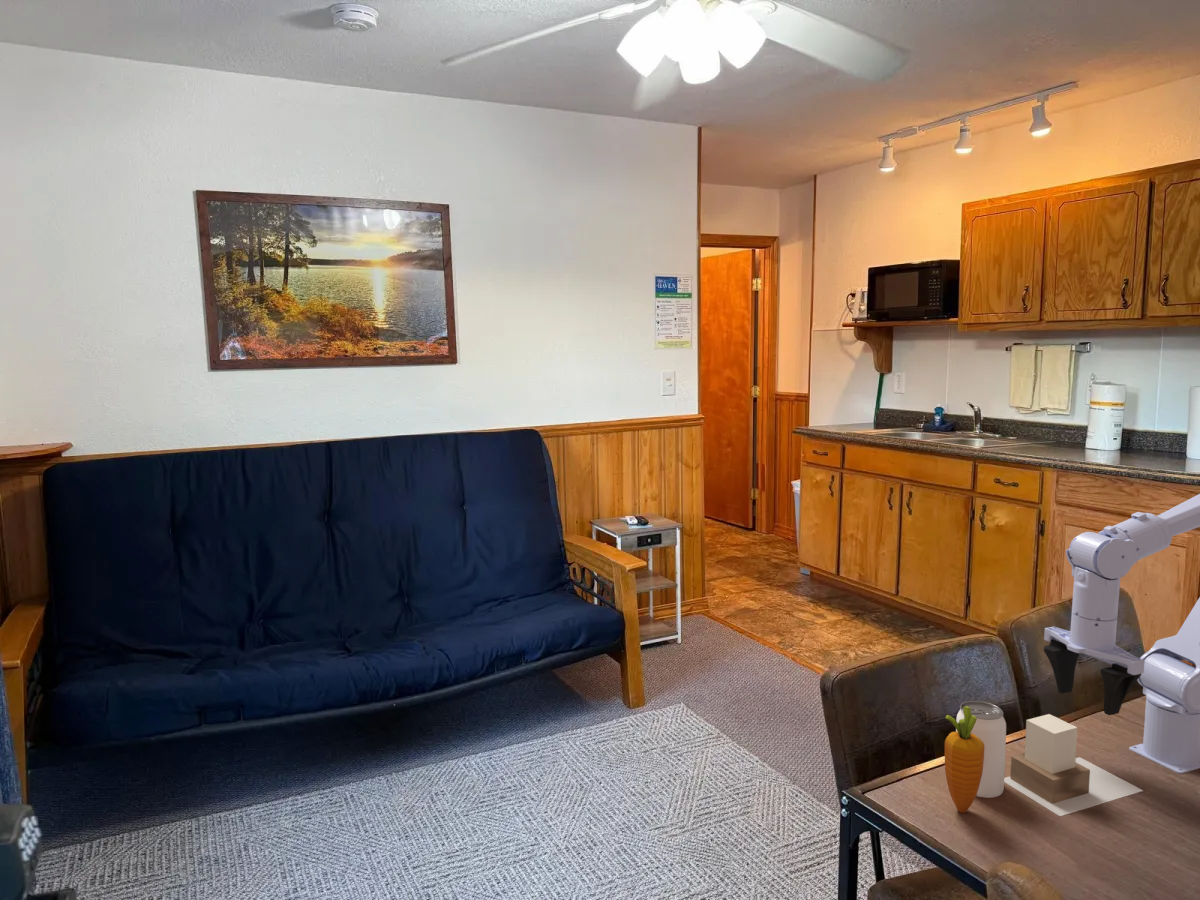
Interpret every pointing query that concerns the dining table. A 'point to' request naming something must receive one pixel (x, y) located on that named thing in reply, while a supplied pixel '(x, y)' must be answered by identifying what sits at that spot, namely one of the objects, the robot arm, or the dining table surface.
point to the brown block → (1050, 780)
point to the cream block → (1050, 743)
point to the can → (989, 745)
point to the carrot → (963, 761)
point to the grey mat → (1100, 791)
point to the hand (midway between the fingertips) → (1087, 702)
